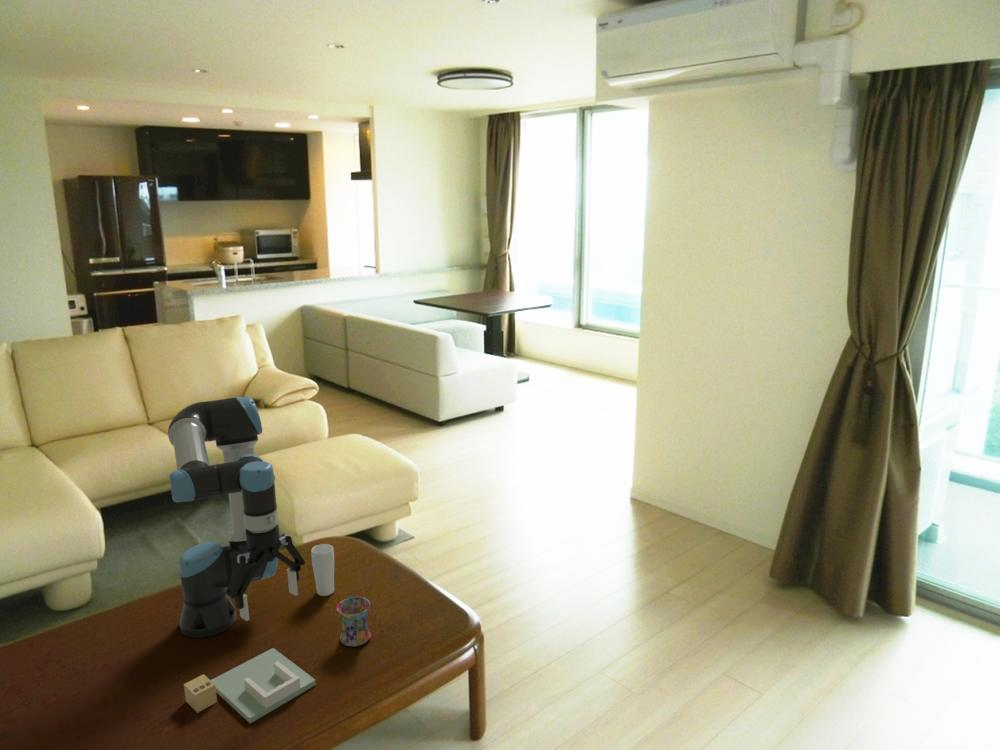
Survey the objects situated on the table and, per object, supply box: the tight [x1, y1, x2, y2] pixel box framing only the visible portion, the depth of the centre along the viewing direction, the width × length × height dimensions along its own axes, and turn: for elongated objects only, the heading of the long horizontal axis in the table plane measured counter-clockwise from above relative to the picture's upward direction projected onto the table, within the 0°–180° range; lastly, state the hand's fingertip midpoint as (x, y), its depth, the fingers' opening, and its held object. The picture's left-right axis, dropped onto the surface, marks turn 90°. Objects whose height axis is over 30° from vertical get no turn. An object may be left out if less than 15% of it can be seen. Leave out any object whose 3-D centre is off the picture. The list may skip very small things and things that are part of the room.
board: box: [210, 647, 317, 724], centre depth 177 cm, size 20×18×4 cm
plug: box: [183, 674, 218, 714], centre depth 171 cm, size 6×5×5 cm
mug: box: [335, 596, 372, 648], centre depth 195 cm, size 12×9×11 cm
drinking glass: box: [310, 543, 335, 597], centre depth 218 cm, size 7×7×15 cm
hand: (270, 605), depth 172 cm, fingers open, 13 cm apart
